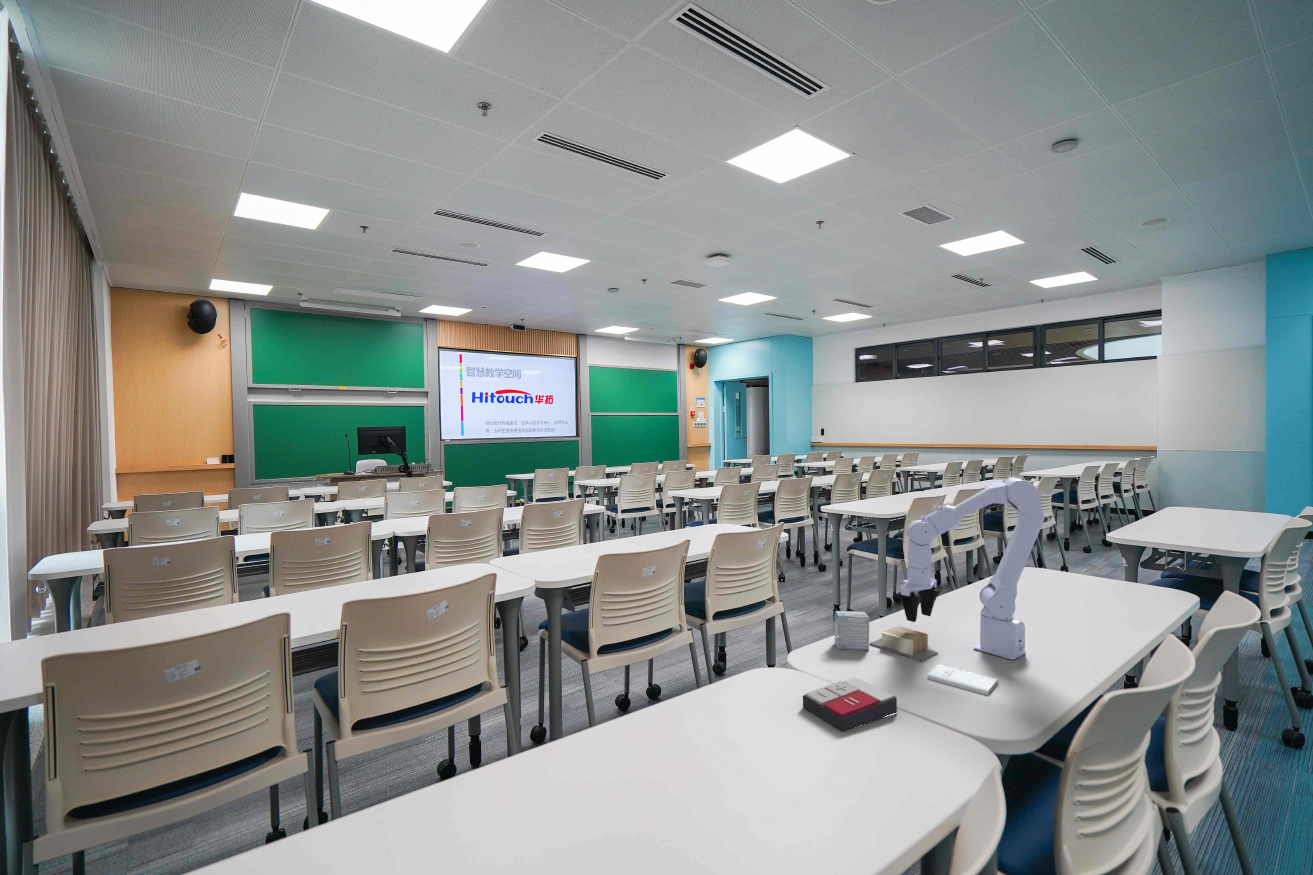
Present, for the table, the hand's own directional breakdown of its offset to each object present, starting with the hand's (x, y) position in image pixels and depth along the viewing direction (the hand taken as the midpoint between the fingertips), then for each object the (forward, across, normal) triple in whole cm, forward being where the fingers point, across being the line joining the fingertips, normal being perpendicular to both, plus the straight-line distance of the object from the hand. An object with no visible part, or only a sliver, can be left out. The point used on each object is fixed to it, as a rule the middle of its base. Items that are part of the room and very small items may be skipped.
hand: (918, 617), depth 157 cm
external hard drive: (+7, +15, +18) cm, 25 cm away
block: (+4, +3, 0) cm, 5 cm away
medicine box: (+7, +17, -9) cm, 20 cm away
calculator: (+7, +47, +11) cm, 49 cm away
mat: (+6, +8, 0) cm, 10 cm away
